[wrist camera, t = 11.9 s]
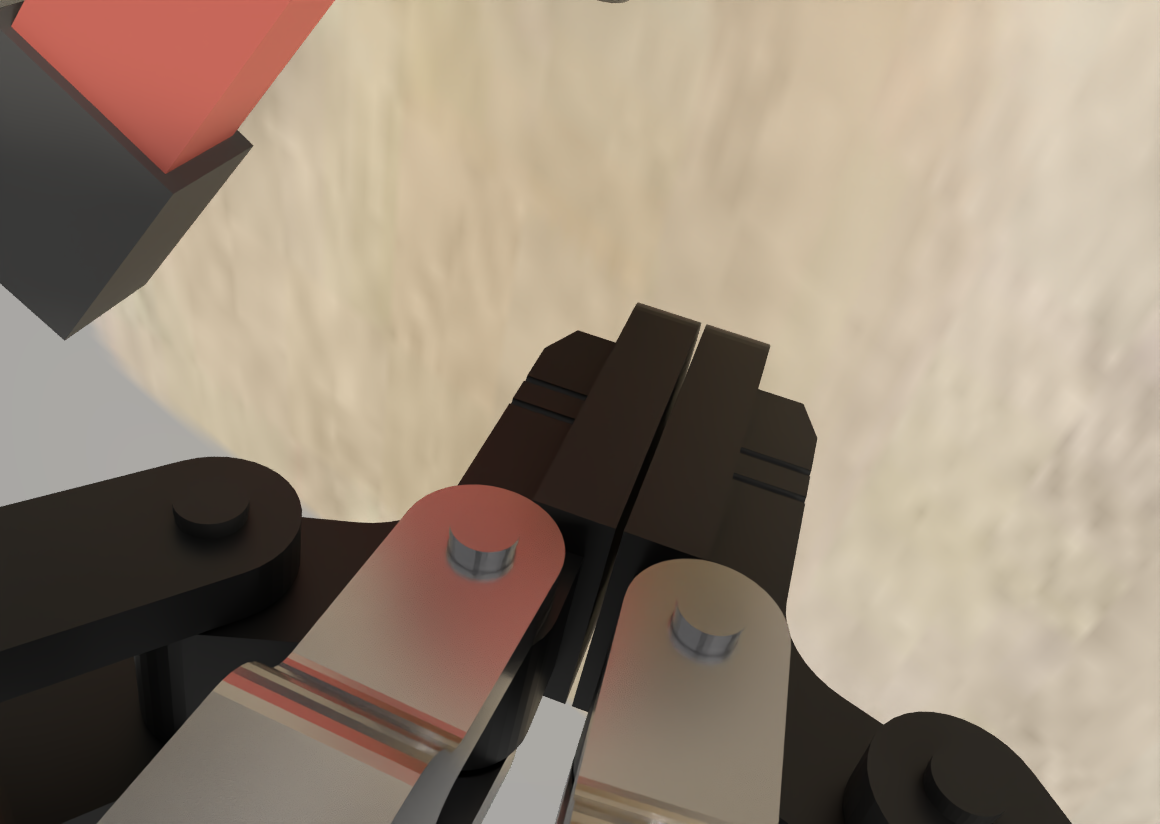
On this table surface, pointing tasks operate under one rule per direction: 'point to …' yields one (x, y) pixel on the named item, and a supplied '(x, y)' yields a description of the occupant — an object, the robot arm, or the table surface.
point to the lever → (123, 135)
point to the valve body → (614, 1)
